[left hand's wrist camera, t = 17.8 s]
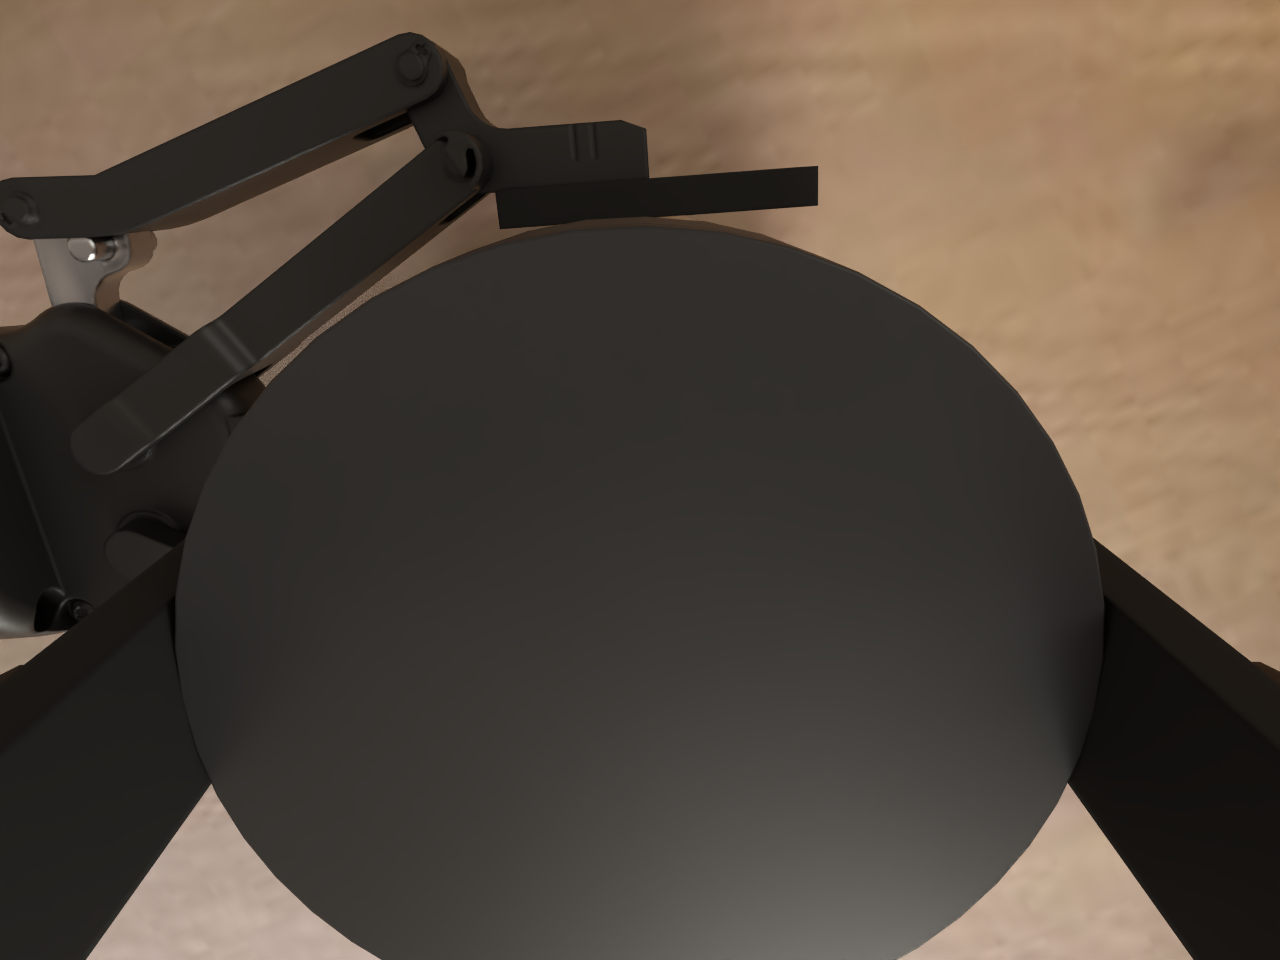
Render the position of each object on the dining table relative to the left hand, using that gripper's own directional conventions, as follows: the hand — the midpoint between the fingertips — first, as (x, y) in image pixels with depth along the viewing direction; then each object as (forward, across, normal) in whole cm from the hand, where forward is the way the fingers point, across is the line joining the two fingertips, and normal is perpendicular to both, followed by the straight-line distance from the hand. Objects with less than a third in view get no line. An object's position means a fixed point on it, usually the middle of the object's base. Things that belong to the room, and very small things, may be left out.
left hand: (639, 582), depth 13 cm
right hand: (+7, -4, 0) cm, 8 cm away
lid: (-3, 0, 0) cm, 3 cm away
